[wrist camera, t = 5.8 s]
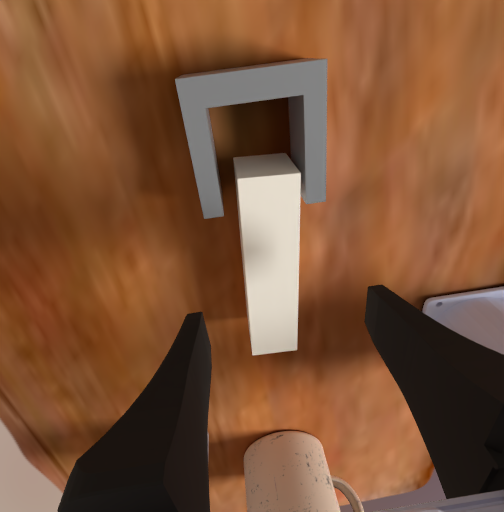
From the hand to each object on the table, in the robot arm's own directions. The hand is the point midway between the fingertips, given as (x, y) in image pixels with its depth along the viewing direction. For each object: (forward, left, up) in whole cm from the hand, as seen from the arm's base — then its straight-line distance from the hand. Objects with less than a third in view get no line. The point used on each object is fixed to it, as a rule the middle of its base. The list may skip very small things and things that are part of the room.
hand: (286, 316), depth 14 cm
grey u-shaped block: (0, -6, -8) cm, 10 cm away
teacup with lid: (-1, +28, -8) cm, 29 cm away
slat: (0, +1, -8) cm, 8 cm away
